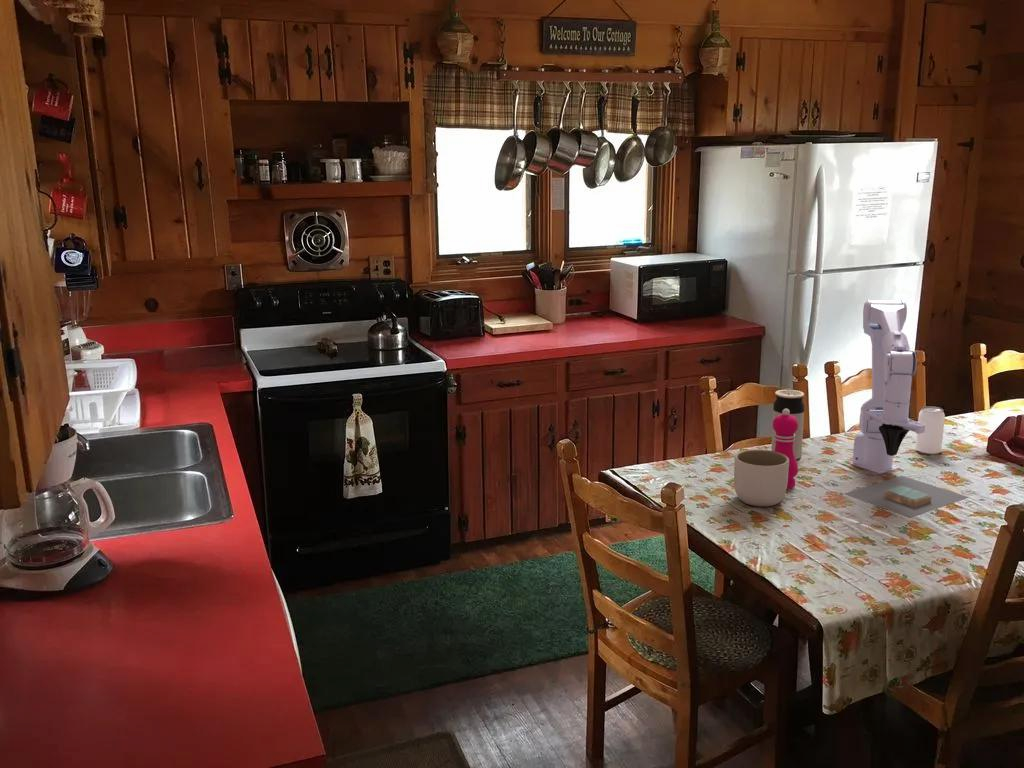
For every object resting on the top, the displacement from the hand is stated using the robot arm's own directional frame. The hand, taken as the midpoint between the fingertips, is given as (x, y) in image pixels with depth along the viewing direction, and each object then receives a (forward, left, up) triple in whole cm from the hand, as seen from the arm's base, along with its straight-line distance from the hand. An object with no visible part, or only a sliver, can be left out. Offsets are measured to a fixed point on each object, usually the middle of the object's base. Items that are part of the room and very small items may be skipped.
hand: (891, 454), depth 214 cm
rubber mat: (+5, -1, -9) cm, 11 cm away
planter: (-13, -31, -10) cm, 34 cm away
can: (-13, +34, -10) cm, 38 cm away
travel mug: (-32, -1, -10) cm, 33 cm away
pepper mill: (-17, -19, -10) cm, 27 cm away
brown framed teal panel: (+3, -3, -8) cm, 9 cm away
